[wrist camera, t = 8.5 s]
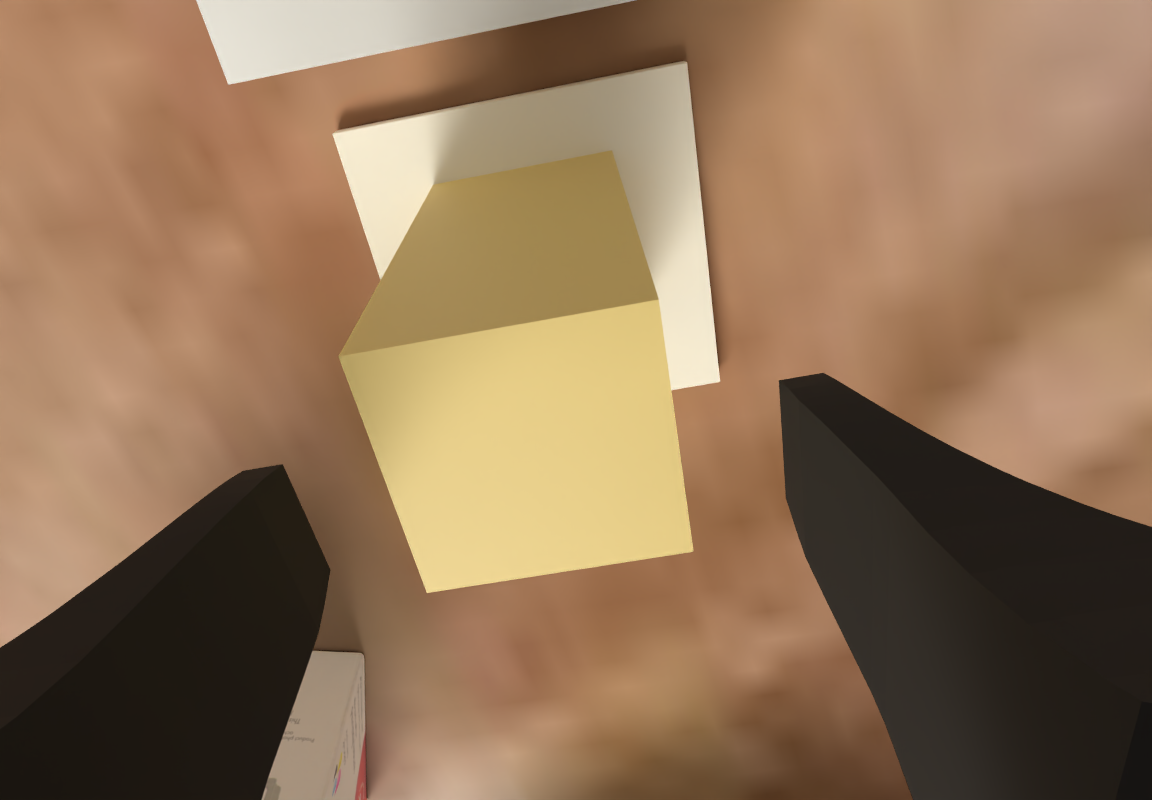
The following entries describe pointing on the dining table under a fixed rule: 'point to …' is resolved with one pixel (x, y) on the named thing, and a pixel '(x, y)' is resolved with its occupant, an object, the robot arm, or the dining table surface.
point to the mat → (551, 133)
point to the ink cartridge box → (324, 734)
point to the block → (522, 380)
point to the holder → (354, 28)
